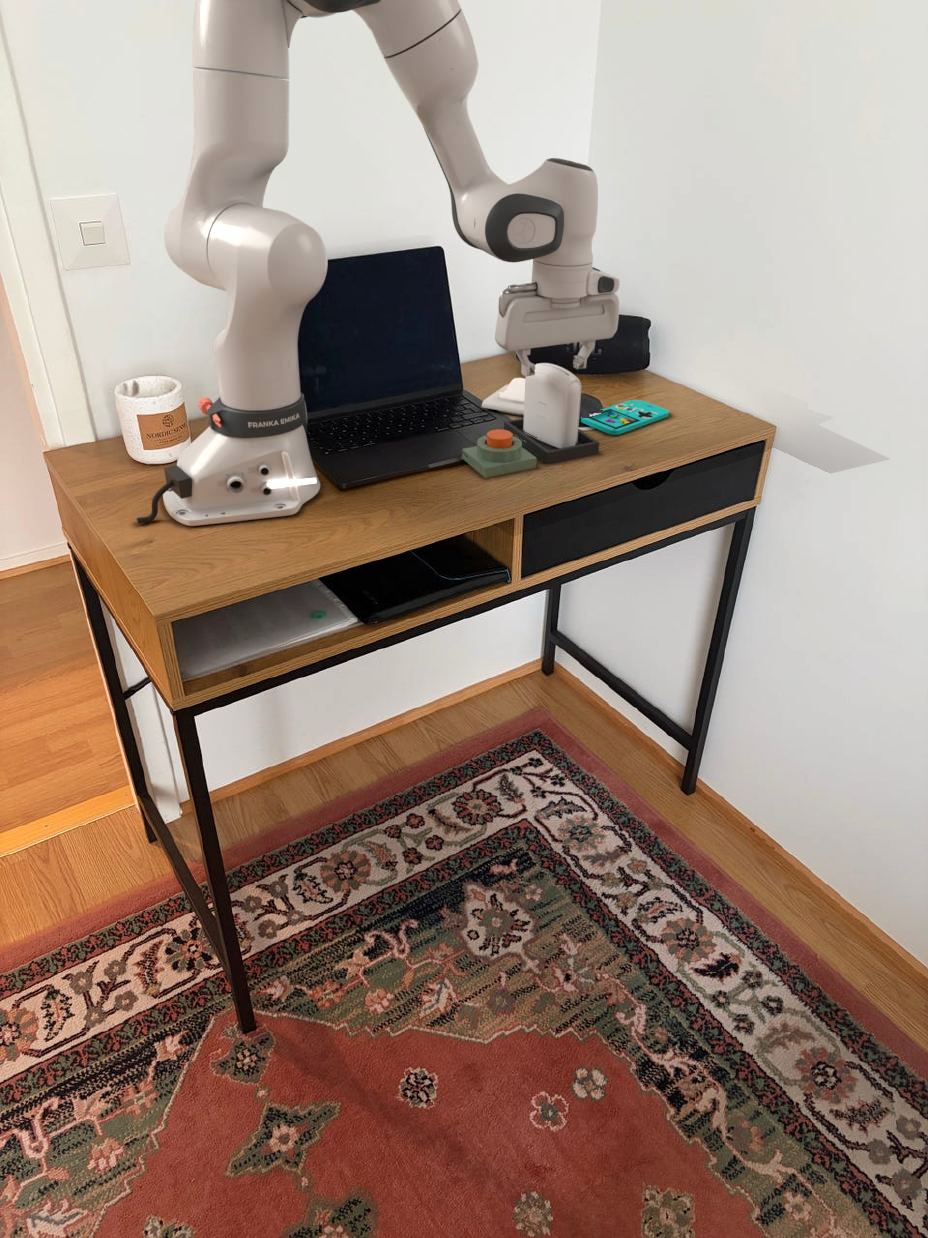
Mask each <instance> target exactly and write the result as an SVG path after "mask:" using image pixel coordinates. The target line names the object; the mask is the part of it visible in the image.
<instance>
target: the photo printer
mask: <svg viewBox="0 0 928 1238" xmlns="http://www.w3.org/2000/svg"><path fill="white" fill-rule="evenodd" d="M534 371H535V375H533V376H526V377H525V378H524V379H525V400H524V415H523V418H524V425H523V429H524V431H525V432H527V433H529V434H531V435H533V436H535V437H537V438H535V437H533V436H531V435H529V434H527V433H525V432H524V433H525V434H527V435H529V436H531V437H533V438H535V439H538V440H540V441H542V442H545V443H547V444H549V445H552V446H554V447H557V448H560V449H561V448H566V447H571V446H575V444H576V443H577V439H578V429H579V423H580V410H581V399H582V398H581V397H582V383H581V381H580V379H579V378H578V377H577V376H576V375H575V374H574V373H573V372H572V371H569V370H568V369H566V368H564V367H562V366H560V365H558V364H554V363H550V362H540V363H536V364H535V370H534Z"/></svg>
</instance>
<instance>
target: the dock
mask: <svg viewBox="0 0 928 1238" xmlns="http://www.w3.org/2000/svg"><path fill="white" fill-rule="evenodd" d="M503 423H504V424H503V430H507V431H510V432H512V434H513V436H514V437H517V436H518V437H519V438H518V437H517V438H518V439H519V440H521V439H522V440H525V441H526V442H527V444H526V443H525V442H524V441H522V440H521V441H522V447H523V448H524V449H525V450H527V451H528V452H529V453H531V454H532V455H533V456H535V457H536V458H537V459H539V460H540V461H541V462H543V463H545V464H546V465H550V464H554V463H559V462H560V463H561V462H564V461H569V460H574V459H578V458H583V457H588V456H593V455H598V454H599V451H600V450H599V449H600V441H598V440H596V439H595V438H594V437H592V436H590V435H589V434H587V433H585V432H584V431H582V430H581V429H579V428H578V439H577V443H576V444H575V446H571V447H566V448H561V449H560V448H557V447H554V446H552V445H549V444H547V443H545V442H542V441H540V440H538V439H535V438H533V437H531V436H529V435H527V434H525V433H524V429H523V425H524V417H523V418H516V419H511V420H506V421H504V422H503ZM515 426H516V427H515ZM514 434H515V435H517V436H515V435H514ZM520 438H521V439H520Z"/></svg>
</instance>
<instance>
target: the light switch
mask: <svg viewBox="0 0 928 1238" xmlns="http://www.w3.org/2000/svg"><path fill="white" fill-rule="evenodd" d="M525 379H526V378H523V377H514V378H512V379H511V381H510V383H506V384H505V385H504V386H502V387H501V388H499V389H498V390H496V391H495V392H493V393H492V394H490V395H489V396H487V397H486V398H485V399H483V401H482V403H481V408H485V409H490V410H497V412H499V413H504V414H510V415H516V416H524V400H525Z"/></svg>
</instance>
